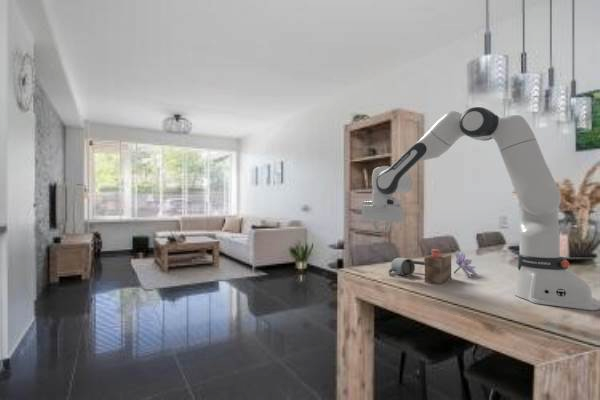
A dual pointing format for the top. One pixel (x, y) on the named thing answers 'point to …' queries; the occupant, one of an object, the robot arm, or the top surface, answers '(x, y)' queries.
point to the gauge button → (435, 253)
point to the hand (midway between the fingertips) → (381, 230)
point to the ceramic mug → (402, 267)
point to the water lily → (464, 264)
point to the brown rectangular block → (437, 269)
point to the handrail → (419, 262)
